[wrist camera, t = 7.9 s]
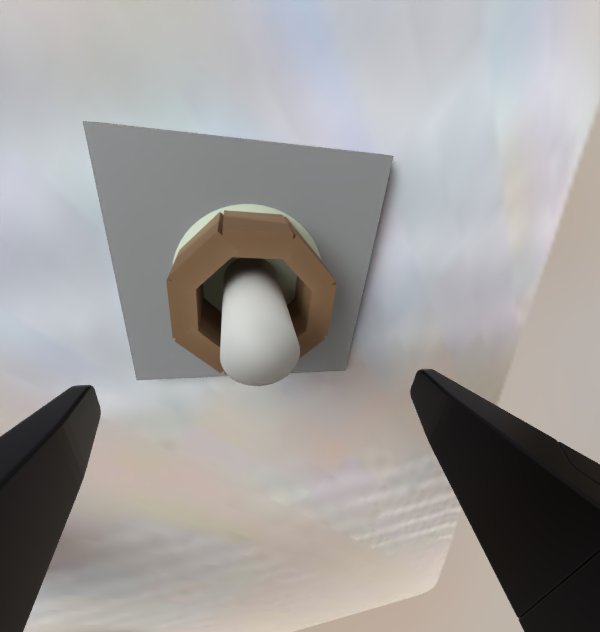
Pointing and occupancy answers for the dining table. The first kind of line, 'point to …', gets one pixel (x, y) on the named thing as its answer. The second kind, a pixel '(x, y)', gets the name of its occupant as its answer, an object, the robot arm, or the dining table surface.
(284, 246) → the ring
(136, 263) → the post board
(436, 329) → the dining table surface
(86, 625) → the dining table surface
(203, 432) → the dining table surface
